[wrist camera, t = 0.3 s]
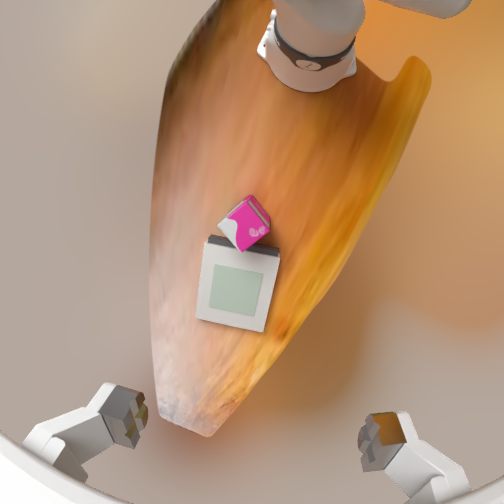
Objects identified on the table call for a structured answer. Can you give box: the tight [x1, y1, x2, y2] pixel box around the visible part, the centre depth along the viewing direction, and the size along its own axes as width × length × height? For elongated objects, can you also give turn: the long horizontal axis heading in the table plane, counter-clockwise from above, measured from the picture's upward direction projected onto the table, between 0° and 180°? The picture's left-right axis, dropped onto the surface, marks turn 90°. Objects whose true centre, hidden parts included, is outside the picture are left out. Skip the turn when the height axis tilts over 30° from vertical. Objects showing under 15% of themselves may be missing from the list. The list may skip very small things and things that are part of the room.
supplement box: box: [217, 195, 270, 253], centre depth 47 cm, size 6×6×12 cm
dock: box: [195, 235, 280, 332], centre depth 55 cm, size 17×14×3 cm
